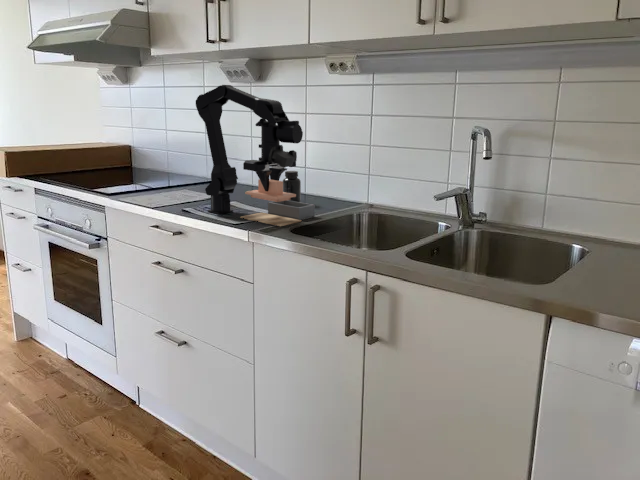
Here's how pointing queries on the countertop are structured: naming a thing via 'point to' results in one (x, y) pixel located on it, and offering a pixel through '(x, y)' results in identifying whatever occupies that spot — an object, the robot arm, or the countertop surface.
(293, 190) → the supplement bottle
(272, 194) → the lid
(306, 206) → the storage box
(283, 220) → the light wood flat board
